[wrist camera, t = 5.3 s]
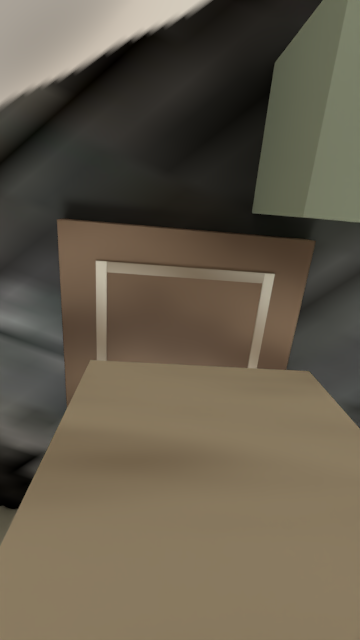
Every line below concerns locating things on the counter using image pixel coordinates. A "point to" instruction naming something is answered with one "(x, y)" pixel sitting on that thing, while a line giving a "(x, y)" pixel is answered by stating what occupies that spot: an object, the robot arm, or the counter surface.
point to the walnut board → (177, 296)
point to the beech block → (189, 511)
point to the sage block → (315, 121)
